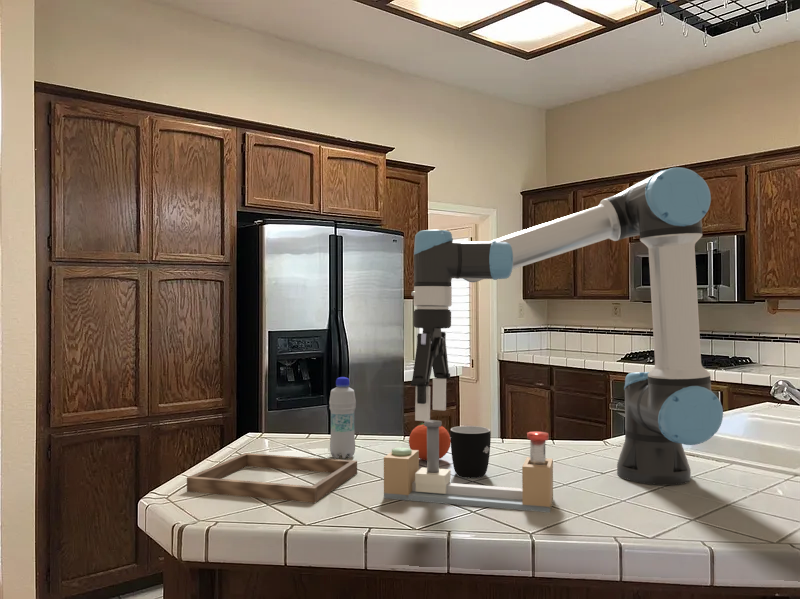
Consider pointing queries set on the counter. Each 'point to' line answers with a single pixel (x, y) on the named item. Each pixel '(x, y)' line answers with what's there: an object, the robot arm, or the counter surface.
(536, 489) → the rail
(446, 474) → the carriage
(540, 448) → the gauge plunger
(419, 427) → the tomato
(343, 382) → the bottle
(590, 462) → the counter surface
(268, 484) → the wooden frame
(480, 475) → the mug
